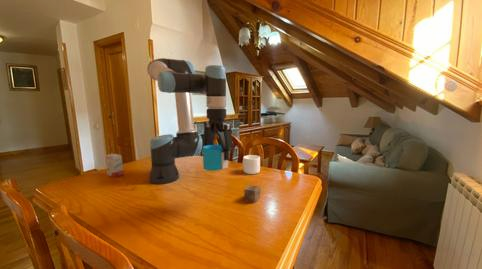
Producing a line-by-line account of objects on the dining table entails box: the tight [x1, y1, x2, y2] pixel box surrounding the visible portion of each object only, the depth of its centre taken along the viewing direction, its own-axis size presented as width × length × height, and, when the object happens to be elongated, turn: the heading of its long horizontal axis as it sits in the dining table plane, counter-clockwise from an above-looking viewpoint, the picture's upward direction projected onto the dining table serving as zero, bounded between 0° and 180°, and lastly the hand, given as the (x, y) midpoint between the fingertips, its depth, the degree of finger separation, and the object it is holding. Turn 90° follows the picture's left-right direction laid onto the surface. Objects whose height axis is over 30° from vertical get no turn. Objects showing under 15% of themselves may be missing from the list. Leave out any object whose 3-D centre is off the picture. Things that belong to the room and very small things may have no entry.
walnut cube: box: [243, 184, 261, 204], centre depth 87 cm, size 5×5×5 cm
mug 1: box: [202, 144, 223, 172], centre depth 82 cm, size 12×8×8 cm
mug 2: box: [242, 154, 261, 175], centre depth 122 cm, size 12×10×9 cm
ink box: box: [104, 153, 124, 178], centre depth 117 cm, size 9×5×12 cm, turn 58°
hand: (217, 165), depth 83 cm, fingers closed on mug 1, 8 cm apart
